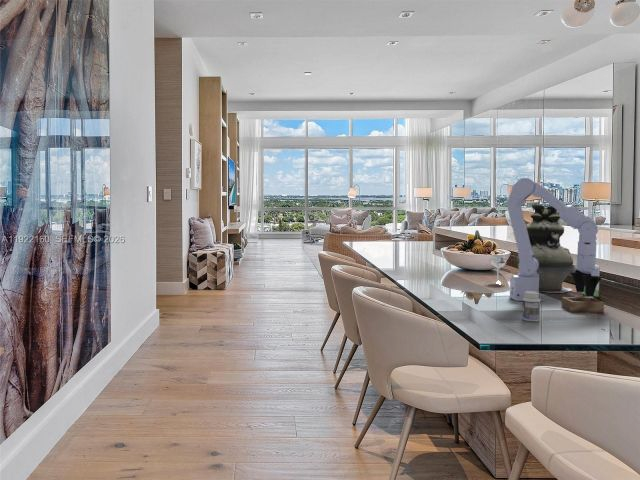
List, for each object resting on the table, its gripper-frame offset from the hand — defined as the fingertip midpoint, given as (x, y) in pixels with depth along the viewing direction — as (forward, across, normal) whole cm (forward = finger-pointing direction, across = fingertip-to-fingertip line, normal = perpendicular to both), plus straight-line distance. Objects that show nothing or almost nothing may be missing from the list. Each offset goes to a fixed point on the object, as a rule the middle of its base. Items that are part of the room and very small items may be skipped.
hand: (584, 293), depth 175 cm
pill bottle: (+4, -27, +27) cm, 38 cm away
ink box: (+4, +21, -11) cm, 24 cm away
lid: (+4, 0, 0) cm, 4 cm away
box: (+4, -10, +5) cm, 12 cm away
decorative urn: (+4, +31, +3) cm, 31 cm away
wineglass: (+4, +47, +17) cm, 50 cm away
